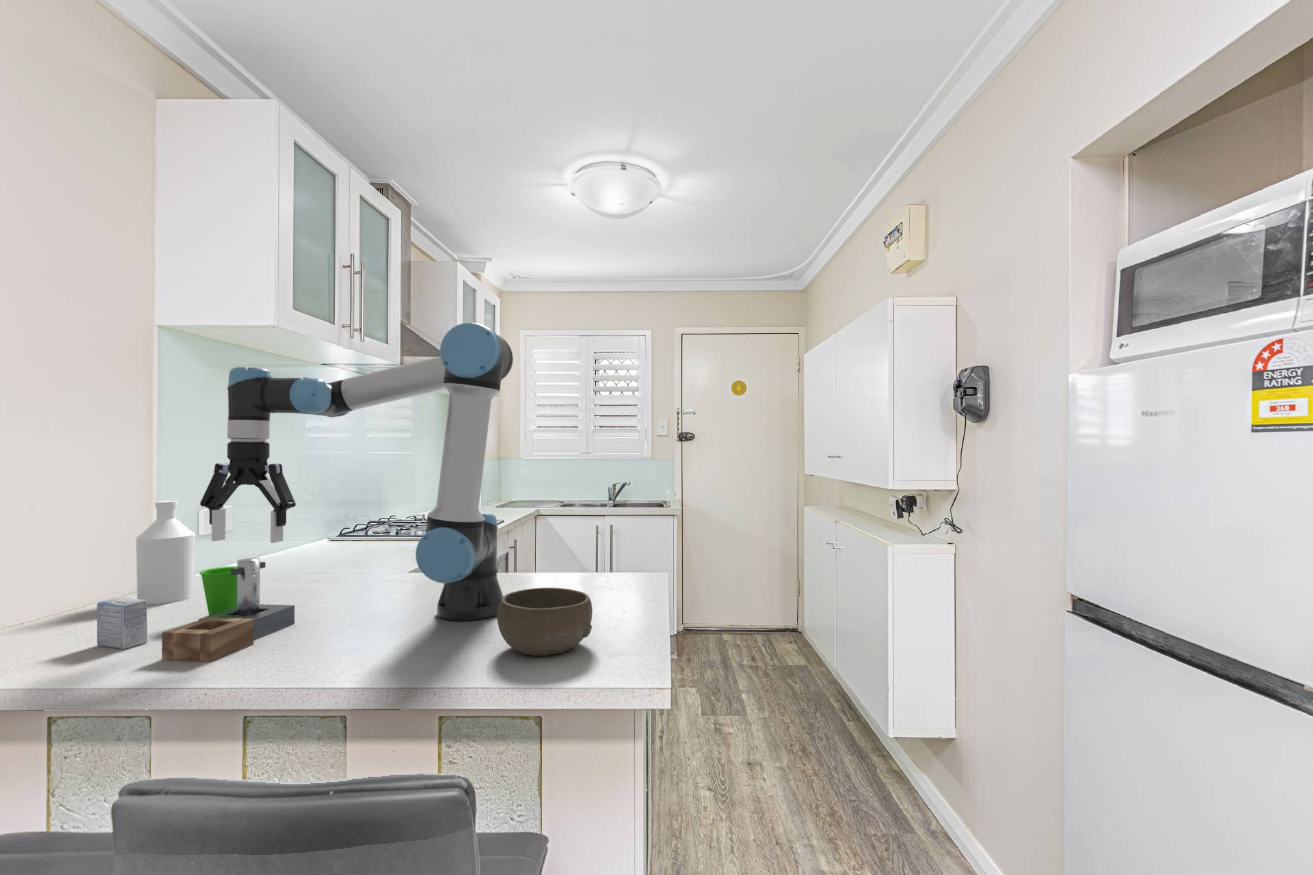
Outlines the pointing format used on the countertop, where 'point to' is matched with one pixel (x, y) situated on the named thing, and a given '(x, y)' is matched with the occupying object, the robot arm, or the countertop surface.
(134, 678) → the countertop surface
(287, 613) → the block
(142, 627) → the medicine box
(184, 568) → the bottle
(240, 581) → the key
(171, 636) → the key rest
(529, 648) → the bowl
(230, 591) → the cup
